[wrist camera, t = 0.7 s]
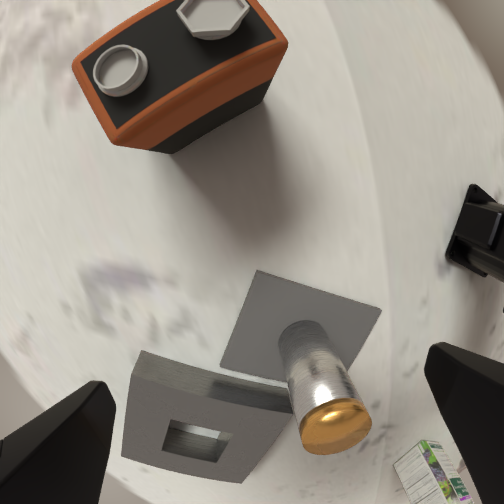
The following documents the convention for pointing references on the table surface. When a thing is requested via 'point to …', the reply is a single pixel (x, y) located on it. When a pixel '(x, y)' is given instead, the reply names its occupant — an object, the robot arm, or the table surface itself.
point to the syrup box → (431, 476)
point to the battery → (179, 70)
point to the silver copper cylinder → (321, 391)
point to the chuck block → (200, 419)
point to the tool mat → (286, 313)
